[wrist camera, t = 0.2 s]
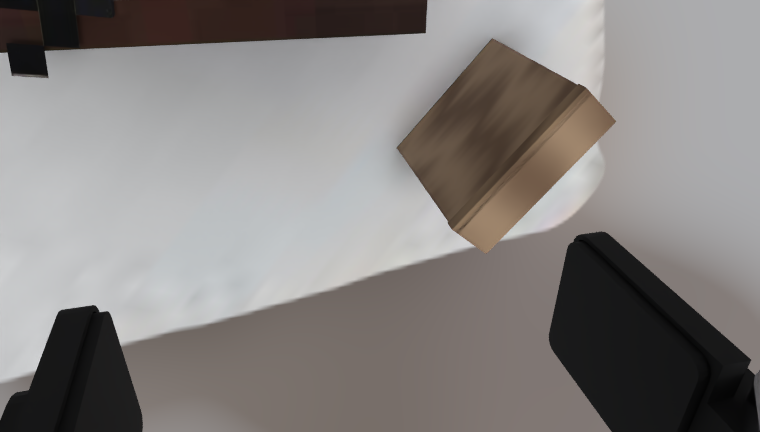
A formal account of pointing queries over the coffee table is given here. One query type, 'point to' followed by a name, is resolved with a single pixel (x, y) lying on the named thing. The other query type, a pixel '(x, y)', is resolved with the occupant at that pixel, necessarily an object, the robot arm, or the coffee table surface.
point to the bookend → (501, 141)
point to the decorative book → (188, 23)
